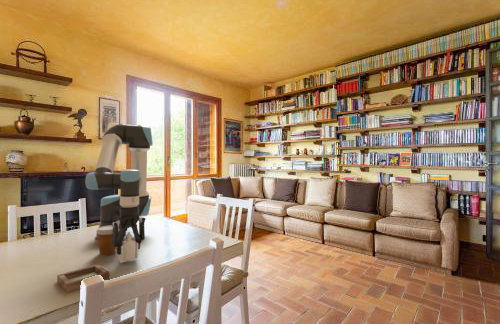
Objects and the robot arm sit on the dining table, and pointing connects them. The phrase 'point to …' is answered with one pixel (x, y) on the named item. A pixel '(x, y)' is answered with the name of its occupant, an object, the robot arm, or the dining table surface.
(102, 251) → the disposable coffee cup
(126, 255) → the eye dropper bottle
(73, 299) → the dining table surface
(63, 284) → the wooden tray
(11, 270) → the dining table surface
